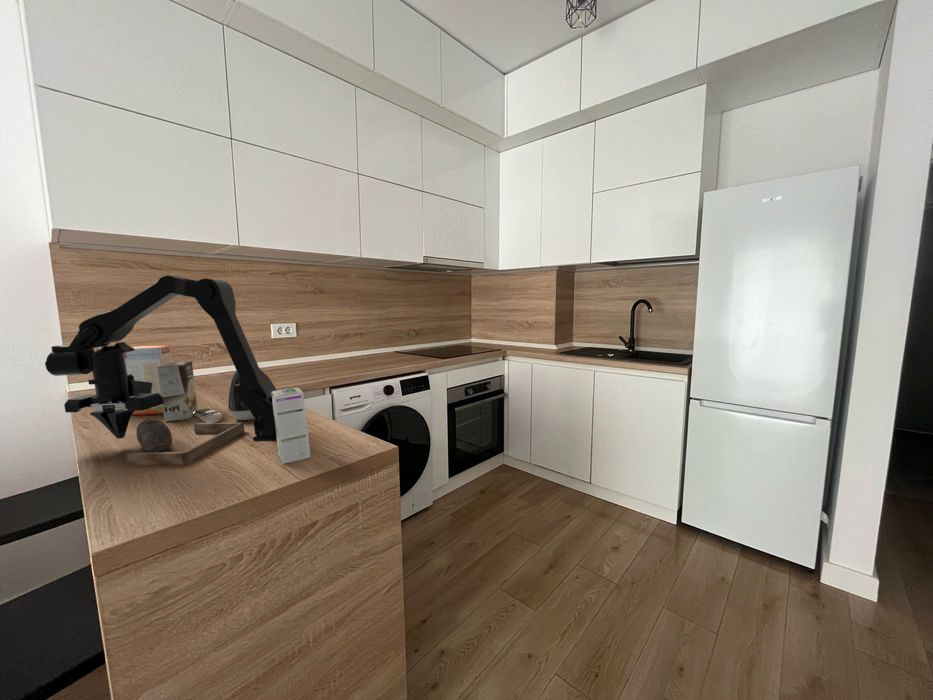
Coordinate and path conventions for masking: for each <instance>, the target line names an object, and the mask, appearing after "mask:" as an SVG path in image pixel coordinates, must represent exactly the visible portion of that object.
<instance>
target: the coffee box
mask: <svg viewBox="0 0 933 700" xmlns="http://www.w3.org/2000/svg"><path fill="white" fill-rule="evenodd" d="M157 369H158V375H159V383H160V390H161V395H162V397H163V403H164V404H163V412H164V414H163V417H164V419H163V420H164V423H165V422H167V423H168V422H173V421H182V420H190V419H191V418H192V417H193V416H194V415H193V412H194V411H197V410H198V411H199V407H198V400H197V391H196V384H195V382H196V381H195V375H194V374H195V373H194V366H193V361H192V360H189V361H188V360H186V361H177V362H176V361H175V362H174V363H167V364H164V365H162V366H159V367H157ZM198 411H197V412H198Z"/></svg>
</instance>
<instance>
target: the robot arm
mask: <svg viewBox="0 0 933 700" xmlns="http://www.w3.org/2000/svg"><path fill="white" fill-rule="evenodd" d="M178 295H179V296H184V297H189V298H194V299H195V300H196V302H197V303H198V305H199V306H200V308H201V309H202V310H203V311H204V312H205V313H206V314H207V315H208V316H209V317H210V318H211V319H212V320H213V322H214V323H215V325H216V328H217V331H218V332H219V335H220V336H221V338H222V342H223V344H224V345H225V348H226V350H227V352H228V355H229V358H230V359H231V360H232V361H231V362H232V363H233V366H234V368H235V371H236V370H237V373H238V375H239V384H237V385H235V386H233V388H234V391H235V392H236V393H237V395H238V398H239V402H242V403H243V404H244V406H245V407H246V408H249V410H250V411H251V413H252V415H253V417H255V419H254V420H252V421H253V428H254V430H253V431H254V435H255V436H254V437H253V438H252V440H253V441H264V440H265V441H271V440H272V441H275V440H276V441H277V436H276V427H275V419H274V411H273V402H272V391H277V387H276V386H275V385H274V383H273V382H272V379H270V377H269V376H268V375H267V374H266V373H265V372H264V371H263V370H262V369H261V368H260V366H259V365H258V362H257V359H256V357H255V355H254V353H253V351H252V348H251V347H250V344H249V342H248V338H246V335H245V332H244V330H243V328H242V326H241V323H240V321H239V319H238V317H237V315H236V314H237V313H236V298H235V294H234V290H233V287H232V285H231V284H229V283H228V282H227V281H225V280H221V279H214V278H207V277H206V278H202V279H199V280H198V279H191V278H190V279H189V278H184V277H182V276H179V275H178V276H177V275H170V274H169V275H168V274H166V275H163V276H161V277H160V278H159V279H158V280H157V281H156V282H154V283H153V284H151V285H150V286H148V287H147V288H145V289H144V290H142V291H141V292H139V293H138V294H136V295H134V296H133V297H131V298H130V299H128V300H127V301H126V302H124V303H122V304H120V305H119V306H118V307H117V308H114V309H112V310H109V311H106V312H103V313H99V314H97V315H94V316H92V317H90V318H87V319H85V320H83V321H82V322H81V323H80V324H79V325H78V329H79V330H78V331H77V334H76V335H75V337H74V339H73V340H72V341H71V342H70V345H66V344H65V345H64V344H63V345H62V344H61V345H53V346H51V352H50V353H49V354H48V355H47V357H46V360H45V363H44V366H45V369H46V371H47V372H48V373H49V374H50V375H52V376H55V377H59V376H60V377H61V376H75V375H76V376H78V375H81V376H82V375H88V374H90V373H92V379H91V378H90V379H88V380H87V382H88V385H94V389H95V394H85V395H81V396H77V397H73V398H69V399H67V400H66V401H65V403H64V404H63V405H64V411H65V413H78V412H80V411H81V410H82V409H84V408H92V412H89V416H93V417H94V418H96V420H98V421H99V422H100V423H101V424H102V425H103V426H104V427H105V428H106V429H107V430H108V431H110V433H111V434H112V435H113V436H114V437H115V438H116V439H119V440H120V439H123V438H125V437H126V434H127V430H128V426H129V423H130V419H131V417H132V416H133V415H132V414H133V412H134V411H142V410H147V409H150V408H153V407H156V406H158V405H161V404H164V403H163V397H162V395H160V394H159V393H151V391H152V385H153V383H150V382H143V381H135V380H134V376H132V374H129V375H127V369H126V363H125V357H124V353H126V352H131V351H134V348H132V347H133V346H130V345H128V344H127V343H126V342H125V341H122V340H124V339H125V338H126V337H127V336H128V334H129V335H130V333H131V332H132V331H133V329H134V327H135V326H136V324H137V323H139V321H140V320H142V319H143V318H145V317H147V316H148V315H149V314H151V313H153V311H155V310H156V309H158V308H160V307H161V306H163V305H165V304H166V303H168V302H169V301H171V300H172V299H174V298H175V297H176V296H178ZM120 341H121V342H120ZM111 343H115V344H114V345H111ZM95 349H96V350H95ZM131 396H134V397H131Z"/></svg>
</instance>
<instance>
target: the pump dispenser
mask: <svg viewBox="0 0 933 700" xmlns="http://www.w3.org/2000/svg"><path fill="white" fill-rule="evenodd" d="M237 384H239V375H238V373H237V370H236V369H235V372H234V373H233V375H232V379H231V380H230V385H229V389H228V396H227V409H228V410H229V412H230V414H231V416H233V418H234V419H236V420H238V421H242V420H243V422H245V420H248V421H253V420H252V419H255V417H253V415H252V413H251V411H250V410H249V408H246V407H245V406H244V404H243V403H242V402H239V398H238V395H237V393H236V392H235V391H234V388H233V386H235V385H237Z"/></svg>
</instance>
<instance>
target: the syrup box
mask: <svg viewBox="0 0 933 700" xmlns="http://www.w3.org/2000/svg"><path fill="white" fill-rule="evenodd" d="M272 402H273V411H274V419H275V427H276V436H277V440H276V443H277V451H278V457H279V460H280V462H281V464H282V465H284V464H290V463H291V464H292V463H294V462H299V461H303V460H307V459H310V458H311V451H310V449H311V448H310V440H309V430H308V423H307V414H306V405H305V396H304V392H303V391H302V390H301V388H300V387H287V388H281V389H276V391H272Z"/></svg>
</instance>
